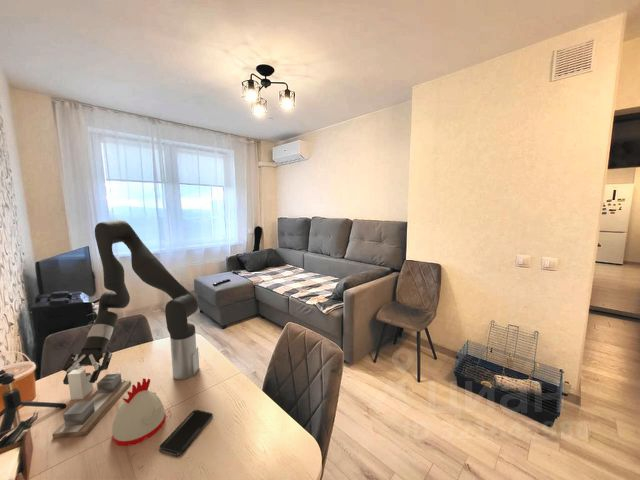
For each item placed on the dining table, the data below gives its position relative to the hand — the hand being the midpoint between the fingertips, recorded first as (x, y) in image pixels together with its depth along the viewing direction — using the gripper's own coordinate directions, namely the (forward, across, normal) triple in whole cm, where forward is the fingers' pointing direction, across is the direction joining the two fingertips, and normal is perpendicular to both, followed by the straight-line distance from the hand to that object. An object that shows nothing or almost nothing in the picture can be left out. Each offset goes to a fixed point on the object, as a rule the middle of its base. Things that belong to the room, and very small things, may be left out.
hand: (79, 383), depth 94 cm
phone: (+18, +45, -10) cm, 50 cm away
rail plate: (+8, +10, -1) cm, 13 cm away
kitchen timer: (+15, +29, -8) cm, 34 cm away
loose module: (+3, 0, +4) cm, 5 cm away
